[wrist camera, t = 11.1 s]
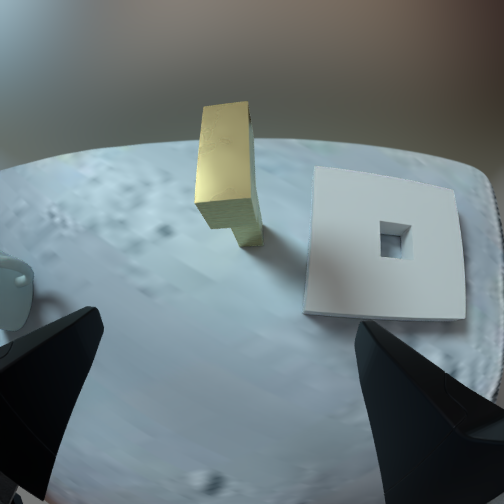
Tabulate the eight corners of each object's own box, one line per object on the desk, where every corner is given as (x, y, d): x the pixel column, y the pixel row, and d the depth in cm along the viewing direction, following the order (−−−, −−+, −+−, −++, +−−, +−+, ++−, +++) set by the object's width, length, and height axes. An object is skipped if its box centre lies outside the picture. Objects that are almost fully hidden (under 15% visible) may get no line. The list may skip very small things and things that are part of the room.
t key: (266, 268, 23) (251, 197, 11) (237, 270, 23) (194, 202, 11) (263, 202, 24) (247, 101, 13) (236, 204, 25) (203, 106, 13)
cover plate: (450, 321, 19) (465, 318, 17) (302, 313, 21) (305, 310, 19) (442, 201, 23) (453, 189, 21) (312, 181, 25) (314, 165, 22)
